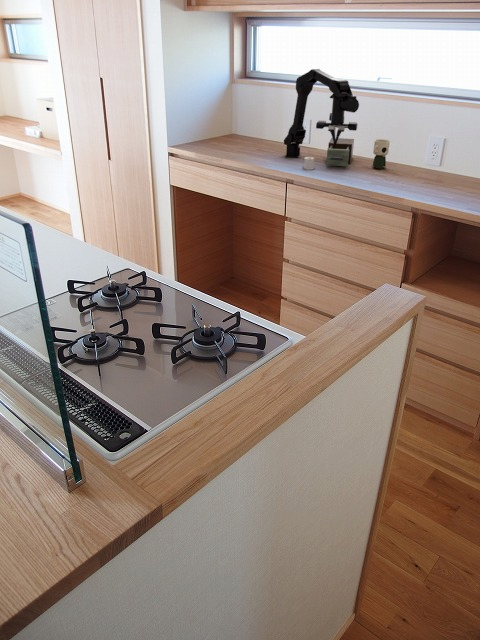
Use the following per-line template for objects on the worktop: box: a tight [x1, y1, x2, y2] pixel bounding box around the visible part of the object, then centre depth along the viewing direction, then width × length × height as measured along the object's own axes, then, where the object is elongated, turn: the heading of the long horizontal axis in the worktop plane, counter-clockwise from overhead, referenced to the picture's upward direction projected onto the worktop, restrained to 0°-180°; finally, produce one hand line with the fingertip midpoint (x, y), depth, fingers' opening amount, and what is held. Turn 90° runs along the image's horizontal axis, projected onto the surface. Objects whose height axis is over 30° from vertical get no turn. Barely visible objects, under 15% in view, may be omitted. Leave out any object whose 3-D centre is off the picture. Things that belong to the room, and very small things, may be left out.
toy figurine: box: [372, 138, 391, 170], centre depth 262 cm, size 11×7×13 cm, turn 132°
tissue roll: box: [303, 156, 315, 171], centre depth 262 cm, size 5×5×5 cm
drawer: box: [325, 145, 350, 167], centre depth 266 cm, size 17×10×8 cm, turn 166°
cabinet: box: [327, 137, 355, 165], centre depth 277 cm, size 14×12×10 cm
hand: (335, 144), depth 258 cm, fingers closed
